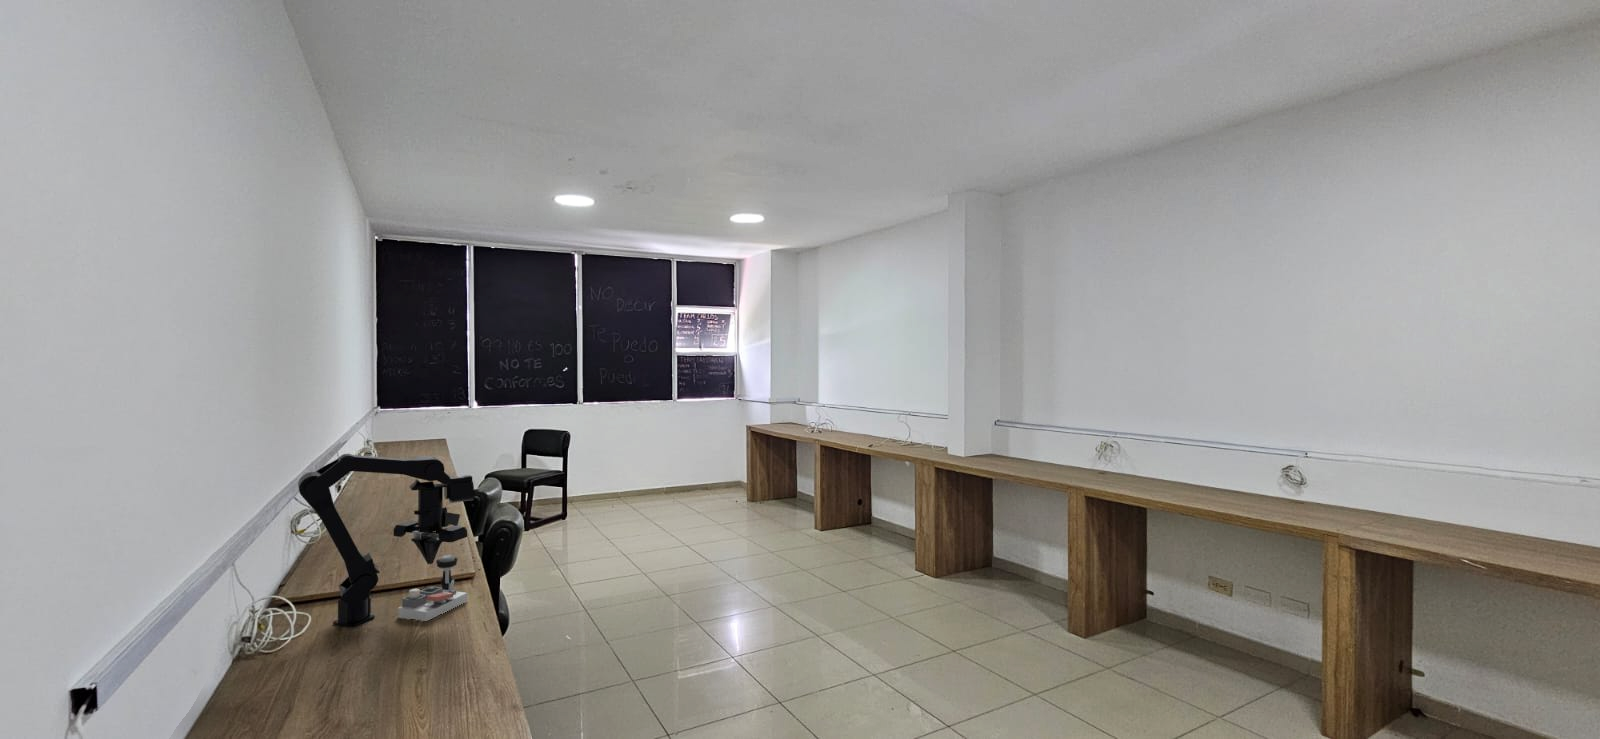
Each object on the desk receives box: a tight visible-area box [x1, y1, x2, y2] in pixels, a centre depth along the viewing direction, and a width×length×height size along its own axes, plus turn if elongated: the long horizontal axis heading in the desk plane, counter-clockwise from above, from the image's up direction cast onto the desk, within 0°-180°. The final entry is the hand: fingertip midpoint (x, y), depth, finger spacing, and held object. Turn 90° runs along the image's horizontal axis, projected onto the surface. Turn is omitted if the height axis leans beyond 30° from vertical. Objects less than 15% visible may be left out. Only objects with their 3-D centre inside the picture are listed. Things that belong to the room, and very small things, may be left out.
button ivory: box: [408, 588, 421, 600], centre depth 177 cm, size 2×2×2 cm
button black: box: [425, 585, 437, 592], centre depth 182 cm, size 2×2×2 cm
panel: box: [397, 579, 468, 621], centre depth 180 cm, size 14×9×6 cm, turn 165°
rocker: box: [427, 592, 453, 601], centre depth 178 cm, size 6×3×1 cm, turn 165°
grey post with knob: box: [435, 554, 459, 590], centre depth 193 cm, size 7×5×10 cm
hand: (430, 563), depth 182 cm, fingers closed
